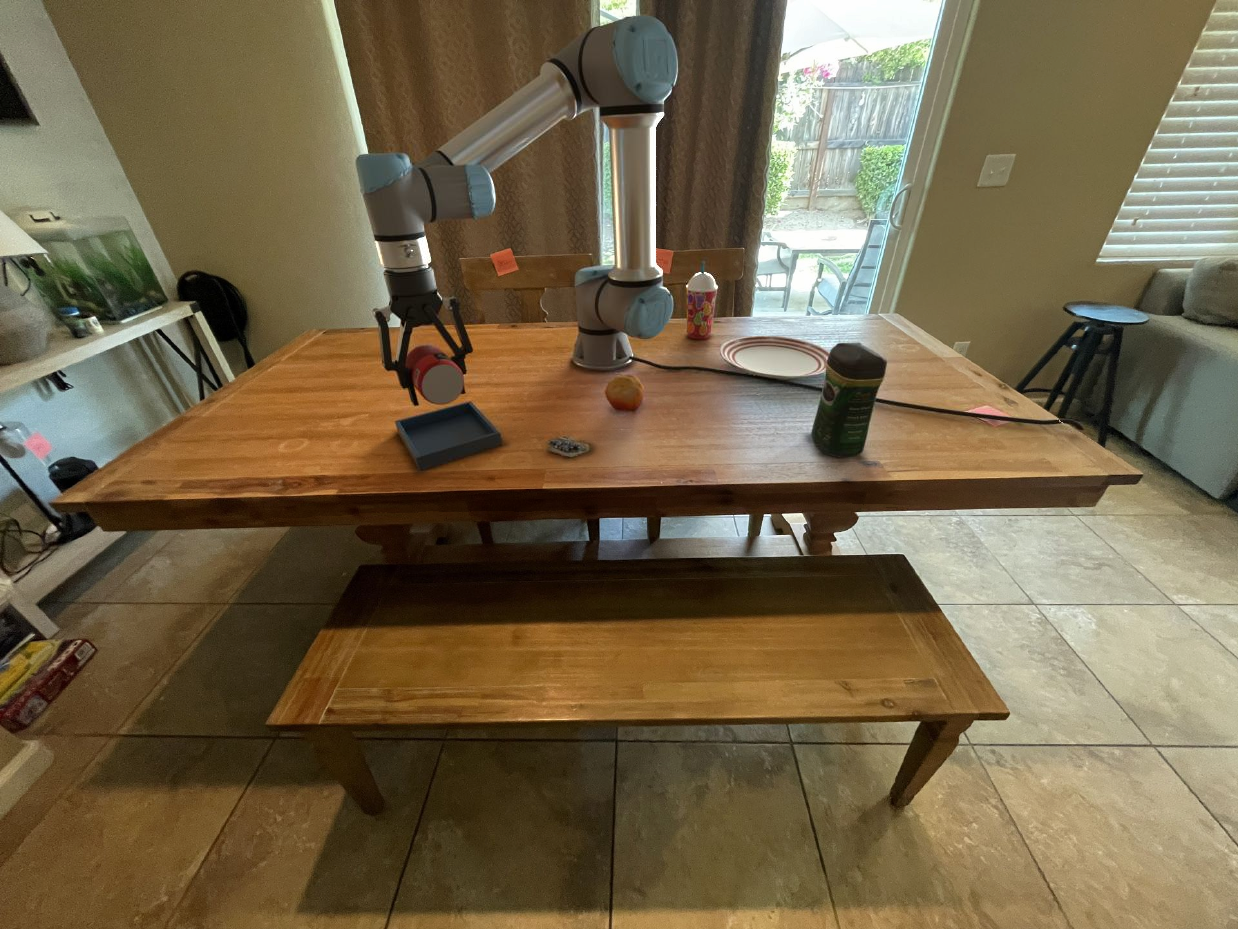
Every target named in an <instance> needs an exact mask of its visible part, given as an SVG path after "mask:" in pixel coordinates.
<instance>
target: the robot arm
mask: <svg viewBox="0 0 1238 929" xmlns="http://www.w3.org/2000/svg"><path fill="white" fill-rule="evenodd" d="M677 52H678V51H677V48H676V45H675V41H674V39H673V37H672V34H670V33H669V32H668V30H667V28H666V25H665V24H664V23H663V22H662V21H660V20H659V19H658V18H656V17H654V16H652V15H648V14H642V15H632V16H631V15H630V16H625V17H623V18H621V19H618V20H615V21H612V22H611V21H610V22H608V23H606V24H603V25H597V26H593V27H591V28H589V29H587V30H586V31H584V32H582V33H581V34H580V35H578V36H577V37H575V39H573V40H572V41H571V42H570V43H569V44H567V45H566V46H565V47H563V48H562V49H561V50H560V51H559V52H557V53H556V54H555V55H554V56H552V57H551V58H550V59H549V60H547V61H546V62H544V63H543V64H541V67H540V70H539V71H540V72H539V75H538V76H537V77H535V78H534V79H533V80H531V81H530V82H529V83H527V84H526V85H524V86H523V87H522V88H520V89H519V90H517V91H515V92H514V93H513V94H512V95H511V96H509V97H508V98H506V99H504V101H502V102H501V103H500V104H498V105H497V106H495V107H494V108H493V109H492V110H490V111H489V112H487V113H485V114H484V115H483V116H482V117H480V118H479V119H478V120H475V121H474V122H473V123H472V124H470V125H469V126H467V127H466V128H465V129H464V130H462V131H461V132H460V133H458V134H457V135H454V137H452V138H451V139H450V140H448V141H447V142H446V143H444V144H443V145H442V146H440V147H439V148H437V149H436V150H435V151H434V152H432V153H431V154H429V155H427V156H426V157H425V158H424V159H422V160H421V161H420V162H419V161H417V162H412V163H411V161H410V157H409V156H408V155H407V154H406V152H405V153H404V152H381V153H379V152H378V153H362V154H359V155H358V156H357V157H356V159H355V170H356V174H357V178H358V183H359V188H360V190H359V191H360V194H361V195H362V200H363V202H364V206H365V210H366V213H367V217H368V221H369V224H370V228H371V231H372V234H373V235H372V236H373V238H374V243H375V247H376V251H377V256H378V258H379V263H380V266H381V267H382V268H384V269H385V270H384V271H383V273H382V274H383V277H384V282H385V285H386V289H387V293H388V296H389V303H388V305H387V306H384V307H382V308H377V307H375V308H373V309H372V314H373V317H374V319H375V320H376V323H377V329H378V330H377V331H378V338H379V348H380V358H381V366H383V368H384V370H385V371H387V372H395V373H396V376H397V380H398V382H399V383H398V384H399V385H400V386H401V388H402V389H403V390H405V389H407V392H408V395H409V399H410V401H411V403H412V405H413V406H414V407H417V406H419V405H420V404H419V399H418V396H417V392H416V388H415V386H414V384H413V381H412V377H411V373H410V371H409V369H408V368H407V367H406V366H405V364H406V359H407V355H408V353H409V349H410V348H409V347H410V341H411V336H412V333H413V329H415V328H419V327H421V326H430V325H433V327H434V328H435V329H436V331H437V332H438V334H439V335H440V337H441V338H442V339H443V341H444V342H445V343H446V345H447V347H449V349H450V351H451V352H452V353H453V354H454V355H452V356H450V357H449V358H450V359H451V360H452V361H453V362H454V363H455V364H456V365H457V366H458V367H459V368H460V369H461V371H462V373H463V376H464V375H467V372H468V371H467V365H466V361H465V359H466V356H467V355H468V354H472V353H473V352H474V348H473V345H472V342H471V340H470V337H469V334H468V332H467V328H466V326H465V324H464V321H463V318H462V315H461V313H460V312H461V310H460V300H459V299H458V298H457V297H455V296H454V295H449V296H448V297H445V296H443V297H442V296H441V295H440V294H439V290H438V287H437V282H436V277H435V272H434V268H433V267H432V266H431V265H429V264H431V262H432V259H431V253H430V250H429V246H428V245H429V244H428V241H427V237H426V235H427V234H426V230H425V223H427V224H430V223H436V222H446V221H447V222H448V221H456V220H459V221H460V220H468V219H470V220H471V219H472V220H476V219H477V218H484V217H488V216H491V214H492V213H494V210H495V207H496V191H495V186H494V182H493V179H492V176H491V175H490V174H491V173H493V172H494V171H495V170H497V169H498V168H499V167H500V166H502V165H503V164H504V163H506V162H507V161H508V160H510V159H511V158H513V157H514V156H516V154H518V153H519V152H520V151H522V150H524V148H526V147H527V146H528V145H530V144H531V143H532V142H534V141H535V140H537V139H538V138H539V137H541V136H542V135H543V134H545V133H546V132H547V131H549V130H550V129H551V128H552V127H554V126H555V125H557V124H558V123H559V122H561V121H563V120H566V121H573V119H575V118H577V116H579V115H581V114H582V113H584V112H586V111H589V110H593V109H597V108H599V119H600V120H601V121H602V123H603V124H604V125H605V126H606V127H607V130H608V138H609V139H608V140H609V144H608V145H609V164H610V186H611V206H612V207H611V209H612V230H613V232H612V234H613V252H614V254H613V255H614V264H602V265H601V264H600V265H595V266H594V265H593V266H587V267H584V268H581V269H578V270H577V271H576V273H575V274H574V275H575V276H574V289H575V303H576V319H577V330H578V331H577V332H578V333H577V336H576V341H575V343H574V346H573V352H572V362H573V365H574V366H575V367H576V368H578V369H580V370H583V371H586V372H593V373H608V372H609V373H610V372H615V371H619V370H620V371H621V370H623V369H625V368H627V367H629V366H630V365H631V364H632V363H633V362H638V363H640V364H644V365H649V366H651V367H654V368H657V369H661V370H667V371H701V372H702V371H703V372H709V373H716V374H720V375H721V374H723V375H729V376H735V377H742V378H747V379H753V380H759V381H764V382H770V383H776V384H781V385H786V386H791V387H795V388H802V389H806V390H812V391H816V392H821V393H822V390H823V387H821V386H817V385H811V384H805V383H800V382H795V381H789V380H786V379H774V378H769V377H763V376H757V375H753V374H750V373H746V372H738V371H732V370H726V369H718V368H713V367H707V366H696V365H695V366H694V365H693V366H692V365H685V366H684V365H681V366H680V365H679V366H678V365H676V366H675V365H674V366H673V365H662V364H660V363H659V364H658V363H656V362H653V361H650V360H646V359H644V358H640V357H636V356H634V354H633V350H632V346H631V343H630V341H629V338H628V337H630V338H636V339H639V340H650V339H653V338H655V337H657V336H658V335H659V334H661V333H662V332H663V331H664V329H665V328H666V326H667V325H668V324H669V322H670V321H671V318H672V316H673V313H674V297H673V296H672V294H671V293H670V291H669V290H668V289H667V287H665V286H664V285H663V284H664V283H663V282H664V277H663V276H664V274H663V269H662V268H660V267H659V266H658V265H657V263H656V127H657V125H658V123H659V122H660V121H661V119H662V118H663V117H664V116H665V100H666V99H667V98H668V97H669V96H670V95H671V94H672V91H673V89H672V88H673V87H675V86H676V82H677V79H678V72H679V66H678V65H679V60H678V53H677ZM443 306H444V307H445V310H447V311H448V314H449V317H450V319H451V321H452V324H453V326H454V330H455V332H456V334H457V338H458V340H459V342H460V345H461V346H459V345H458V343H457V342H456V341H455V340H454V337H453V336H452V335H451V334H450V332H449V331H448V330H447V328H446V326H445V325H444V323H443V322H442V320H441V319H440V317H439V316H438V315H439V314H440V311H441V309H442V307H443ZM392 314H393V315H394V316H396V317H397V318H398V319H399V320H400V322H399V333H398V339H397V344H396V350H395V356H394V361H393V356H392V346H391V336H390V326H389V324H388V323H389V322H390V321H391V315H392ZM466 393H467V392H466V388H465V386H464V387H463V390H462V392H461V394H460V395H464V394H465V395H466ZM875 403H879V404H885V405H890V406H896V407H900V408H907V409H912V410H920V411H927V412H932V413H933V412H934V413H938V414H947V415H952V416H953V415H954V416H959V417H969V418H976V419H984V420H992V421H993V420H994V421H1001V422H1008V423H1009V422H1011V423H1019V424H1020V423H1021V424H1029V425H1039V426H1040V425H1041V426H1050V425H1051V426H1052V425H1064V424H1065V425H1072V426H1073V427H1074V428H1075V429H1077V430H1078V431H1085V428H1084V426H1083V425H1082V424H1081V423H1080V422H1078V421H1076V420H1073V419H1069V418H1057V419H1058V420H1057V419H1034V418H1033V419H1032V418H1024V417H1014V416H1013V417H1012V416H1005V415H995V414H988V413H987V414H986V413H978V412H970V411H962V410H957V409H956V410H955V409H948V408H941V407H934V406H926V405H922V404H921V405H920V404H913V403H908V402H902V401H895V400H890V399H885V398H879V397H876V400H875ZM1059 420H1060V421H1061V422H1063V423H1064V424H1062V423H1061V422H1059Z"/></svg>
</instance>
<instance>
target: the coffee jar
mask: <svg viewBox="0 0 1238 929" xmlns="http://www.w3.org/2000/svg"><path fill="white" fill-rule="evenodd" d="M829 352H830V353H829V356H828V359H827V363H826V372H825V373H824V379H823V380H824V381H823V386H822V388H823V390H822V392H821V394H820V399H819V402H818V406H817V410H816V413H815V417H814V421H813V423H812V428H811V432H810V436H811V439H812V441H813V442H814V444H815V445H816V446H817V447H818V448H819V449H820V450H821V451H822V452H823V453H824V454H826V455H827V456H832V457H833V456H834V457H838V458H851V457H855V456H859V455H861V454H862V453H863V452H864V450H865V446H866V442H867V437H868V433H869V428H870V423H871V421H872V420H871V419H872V415H873V411H874V407H875V403H876V402H875V400H876V398H877V396H878V392H879V389H880V386H882V384H883V382H884V380H885V377H886V372H887V371H886V370H887V366H888V360H887V359H886V358H885V357H883V356H882V355H880V354H879V353H878V352H876V351H874V350H873V349H871V348H870V347H867V346H866V345H863V344H862V343H861V342H859V341H857V342H856V341H855V342H854V341H853V342H851V341H850V342H838V343H836V344H835V345H834V346H833V347H832V348H831V349H830V351H829Z"/></svg>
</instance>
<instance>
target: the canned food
mask: <svg viewBox="0 0 1238 929" xmlns="http://www.w3.org/2000/svg"><path fill="white" fill-rule="evenodd" d="M405 366H406V367H407V368H408V369H409V371H410V373H411V377H412V381H413V384H414V388H415V390H417V392H418V394H420V396H421V397H422V398H423V399H424V400H425V401H427V402H428V403H430V404H433V405H439V406H441V405H448V404H450V403H453V402H454V401H456V400H457V399H458V398H459V396H461V395H462V394H461V392H462V390H463V387H465V378H464V375H463V373H462V371H461V369H460V368H459V367H458V366H457V365H456V364H455V363H454V362H453V361H452V360H451V358H450V357H449V356H448V355H447V354H446V353H445V352H444V351H443V350H442V349H441V348H440V347H438V346H436V345H433V344H429V343H425V344H420V345H417V346H415V347H414V348H412V349H411V350H410V351H408V353H407V359H406V364H405Z"/></svg>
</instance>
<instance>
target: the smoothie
mask: <svg viewBox="0 0 1238 929" xmlns="http://www.w3.org/2000/svg"><path fill="white" fill-rule="evenodd" d="M705 263H706V262H705V261H702V262H701V272H698V273H695V274H694V275H693V276H692V277H691V278H690V279H689V281H688V283H687V285H686V286H685V287H686V288H685V289H686V332H687V334H688V337H689V338H691V339H693V340H694V339H695V340H704V339H707V338H708V337H709V336H710V334H711V333H712V329H713V328H712V327H713V320H714V315H715V314H714V313H715V307H716V300H717V292H718V285H717V283H716V280H715V278H714V277H713V276H712V275H711V274H710V273H707V272H705V266H706V265H705Z"/></svg>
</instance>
